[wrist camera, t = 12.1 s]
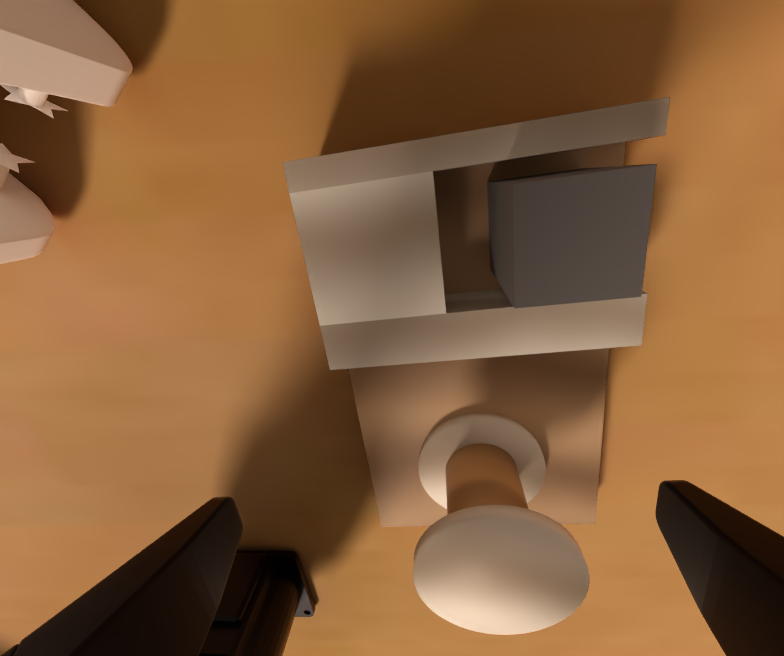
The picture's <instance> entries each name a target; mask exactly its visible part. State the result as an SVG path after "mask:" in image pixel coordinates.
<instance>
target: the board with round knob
mask: <svg viewBox="0 0 784 656" xmlns="http://www.w3.org/2000/svg"><path fill="white" fill-rule="evenodd" d="M669 102H670V97H666V98H660V99H654V100H648V101H642V102H636V103H631V104H625V105H619V106H613V107H607V108H601V109H595V110H589V111H583V112H577V113H571V114H565V115H560V116H554V117H548V118H542V119H536V120H530V121H524V122H518V123H512V124H506V125H500V126H494V127H489V128H483V129H477V130H471V131H465V132H459V133H453V134H447V135H441V136H435V137H429V138H424V139H418V140H412V141H406V142H400V143H394V144H388V145H382V146H376V147H370V148H364V149H358V150H353V151H347V152H341V153H335V154H329V155H323V156H317V157H311V158H305V159H299V160H293V161H287V162H282V163H283V167H284V172H285V176H286V181H287V185H288V189H289V194H290V198H291V202H292V207H293V211H294V215H295V220H296V224H297V229H298V233H299V237H300V242H301V246H302V250H303V255H304V259H305V263H306V268H307V272H308V277H309V281H310V285H311V290H312V294H313V298H314V303H315V307H316V311H317V316H318V320H319V325H320V329H321V333H322V338H323V342H324V346H325V351H326V355H327V359H328V364H329V368H330V370H337V369H348V370H349V375H350V379H351V384H352V389H353V394H354V399H355V403H356V408H357V413H358V418H359V422H360V427H361V432H362V437H363V442H364V446H365V451H366V456H367V461H368V466H369V470H370V475H371V480H372V485H373V490H374V494H375V499H376V504H377V509H378V514H379V518H380V523H381V527H394V526H430V527H429V528H428V529H427V530H426V531H425V532H424V534H423V535H422V536H421V538H420V539H419V541H418V543H417V546H416V549H415V554H414V567H413V577H414V584H415V587H416V590H417V592H418V594H419V596H420V597H421V599H422V600H423V602H424V603H425V604H426V605H427V606H428V607H429V608H430V609H431V610H432V611H433V612H435V613H436V614H437V615H439V616H440V617H442V618H443V619H445V620H447V621H449V622H451V623H453V624H455V625H457V626H460V627H462V628H466V629H469V630H472V631H477V632H481V633H488V634H499V635H513V634H523V633H529V632H534V631H538V630H541V629H544V628H547V627H550V626H552V625H554V624H556V623H558V622H561V621H562V620H564V619H565V618H567V617H568V616H569V615H571V614H572V613H573V612H574V611H575V610H576V609H577V608H578V607H579V606H580V605H581V603H582V602H583V600H584V598H585V597H586V594H587V591H588V588H589V571H588V567H587V564H586V562H585V559H584V557H583V554H582V552H581V549H580V547H579V545H578V543H577V541H576V540H575V539H574V537H573V536H572V535H571V534H570V532H569V531H568V530H567V529H566V528H564V527H563V526H562V525H561V524H595V521H596V508H597V495H598V483H599V470H600V458H601V445H602V433H603V420H604V408H605V395H606V383H607V370H608V358H609V348H615V347H627V346H640V345H642V337H643V329H644V320H645V311H646V302H647V293H645V292H644V291H642V296H641V297H634V298H624V299H613V300H602V301H591V302H580V303H569V304H558V305H548V306H537V307H526V308H514V307H513V305H512V304H511V302H510V300H509V299H508V297H507V296H506V294H505V292H504V291H503V289H502V288H501V286H500V284H499V283H498V281H497V279H496V278H495V276H494V275H493V273H492V271H491V269H490V244H489V218H488V193H487V182H490V181H497V180H504V179H511V178H518V177H525V176H532V175H539V174H546V173H553V172H560V171H567V170H574V169H581V168H597V167H614V166H624V157H625V145H626V142H630V141H635V140H641V139H646V138H652V137H657V136H663V135H666V128H667V119H668V110H669Z"/></svg>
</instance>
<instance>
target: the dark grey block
mask: <svg viewBox="0 0 784 656" xmlns="http://www.w3.org/2000/svg"><path fill="white" fill-rule="evenodd" d="M656 165H657V164H648V165H631V166H614V167H597V168H581V169H574V170H567V171H560V172H553V173H546V174H539V175H532V176H525V177H518V178H511V179H504V180H497V181H490V182H487V193H488V218H489V244H490V269H491V271H492V273H493V275H494V276H495V278H496V279H497V281H498V283H499V284H500V286H501V288H502V289H503V291H504V292H505V294H506V296H507V297H508V299H509V300H510V302H511V304H512V305H513V307H514V308H526V307H537V306H548V305H558V304H569V303H580V302H591V301H602V300H613V299H624V298H634V297H641V296H642V287H643V278H644V270H645V261H646V252H647V244H648V235H649V226H650V218H651V209H652V200H653V191H654V183H655V174H656Z"/></svg>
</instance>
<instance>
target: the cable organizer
mask: <svg viewBox="0 0 784 656" xmlns="http://www.w3.org/2000/svg"><path fill="white" fill-rule="evenodd" d="M132 70H133V67H132V64H131V62H130V60H129V58H128V57H127V55H126V54H125V53H124V51H123V50H122V49H121V48H120V46H119V45H118V44H117V43H116V42H115V41H114V40H113V39H112V37H111V36H110V35H109V34H108V33H107V32H106V31H105V30H104V29H103V28H102V27H101V26H100V25H99V24H97V23H96V22H95V21H94V20H93V19H92V18H91V17H90V16H89V15H88V14H87V13H86V12H85V11H84V10H83V9H82V8H81V7H80V6H79V5H78V4H77V3H76V2H74V1H73V0H0V85H1V86H2V87H3V88H5V89H6V90H8V91H9V92H10V93H11V94H10V95H8V96H7V97H6V98H5V100H9V101H13V102H18V103H22V104H26V105H30V106H32V107H34V108H36V109H38V110H39V111H41V112H43V113H45V114H46V115H48V116H50V117H52V118H54V117H53V114H52V111H51V109H54V110H63V111H68V110H66V109H63V108H61V107H59V106H57V105H55V104H53V103H50V102H48V101H46V99H47V97H48V95H49V94H51V95H56V96H60V97H65V98H70V99H74V100H79V101H83V102H88V103H93V104H97V105H102V106H113V105H114V104H116V102H117V100H118V98H119V96H120V94H121V92H122V90H123V88H124V86H125V84H126V82H127V81H128V79H129V77H130V75H131V73H132ZM9 85H10V86H9ZM12 86H14V87H12ZM15 87H19V88H18V89H17V88H15ZM17 163H34V162H33V161H31V160H28V159H25V158H22V157H19V156H16V155H13V154H11V153H10V151H9V150H8V149H7V148H6V147H5V146H4V145H3V143H1V144H0V264H3V263H8V262H13V261H18V260H23V259H27V258H32V257H35V256H38V255H39V254H41V253H42V252H43V251H44V250H45V248H46V246H47V244H48V242H49V240H50V238H51V236H52V234H53V232H54V230H55V220H54V217H53V216H52V214H51V212H50V211H49V210H48V208H47V207H46V206H45V205H44V203H43V201H42V200H41V199H40V198H39V197H38V196H37V195H36V194H34V193H33V192H32V191H31V190H30V189H28V188H27V187H26V186H25V185H23V184H22V183H21V182H20V181H19V180H17V179H16V178H15V177H14V176H12V175H11V174H10V173H9V170H10V169H12V170H14V171H16V172H18V173H19V169H18V165H17Z"/></svg>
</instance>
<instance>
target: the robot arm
mask: <svg viewBox="0 0 784 656" xmlns="http://www.w3.org/2000/svg"><path fill="white" fill-rule="evenodd" d="M656 520H657V523H658V526H659V528H660V530H661V532H662V534H663V536H664V538H665V540H666V542H667V544H668V546H669V548H670V551H671V553H672V555H673V557H674V559H675V561H676V563H677V565H678V567H679V569H680V571H681V573H682V575H683V577H684V579H685V582H686V584H687V586H688V588H689V590H690V592H691V594H692V596H693V598H694V600H695V602H696V604H697V606H698V608H699V610H700V612H701V613H702V615H703V617H704V619H705V621H706V622H707V624H708V626H709V628H710V629H711V631H712V633H713V634H714V636H715V638H716V639H717V641H718V643H719V644H720V646H721V648H722V649H723V651H724V653H725V654H726V656H784V537H783V536H781V535H780V534H778V533H776V532H775V531H773V530H771V529H769V528H768V527H766V526H764V525H762V524H761V523H759V522H757V521H756V520H754V519H752V518H750V517H749V516H747V515H745V514H743V513H742V512H740V511H738V510H737V509H735V508H733V507H731V506H730V505H728V504H726V503H724V502H723V501H721V500H719V499H717V498H716V497H714V496H712V495H711V494H709V493H707V492H705V491H704V490H702V489H700V488H698V487H697V486H695V485H693V484H692V483H690V482H688V481H684V480H671V481H663V482H661V484H660V486H659V491H658V498H657V505H656ZM242 531H243V526H242V521H241V518H240V515H239V513H238V510H237V507H236V504H235V502H234V500H233V499H232V498H231V497H216V498H212V499H211V500H209V501H208V502H207V503H205V504H204V505H203V506H201V507H200V508H199V509H197V510H196V511H195V512H193V513H192V514H191V515H189V516H188V517H186V518H185V519H184V520H182V521H181V522H180V523H178V524H177V525H176V526H174V527H173V528H172V529H170V530H169V531H168V532H166V533H165V534H164V535H162V536H161V537H160V538H158V539H157V540H156V541H154V542H153V543H152V544H150V545H149V546H148V547H146V548H145V549H144V550H142V551H141V552H140V553H138V554H137V555H136V556H134V557H133V558H132V559H130V560H129V561H127V562H126V563H125V564H123V565H122V566H121V567H119V568H118V569H117V570H115V571H114V572H113V573H111V574H110V575H109V576H107V577H106V578H105V579H103V580H102V581H101V582H99V583H98V584H97V585H95V586H94V587H93V588H91V589H90V590H89V591H87V592H86V593H85V594H83V595H82V596H81V597H79V598H78V599H76V600H75V601H74V602H72V603H71V604H70V605H68V606H67V607H66V608H64V609H63V610H62V611H60V612H59V613H58V614H56V615H55V616H54V617H52V618H51V619H50V620H48V621H47V622H46V623H44V624H43V625H42V626H40V627H39V628H38V629H36V630H35V631H34V632H32V633H31V634H30V635H28V636H27V637H25V638H24V639H23V640H22V641H21V642H20V644H17V645H15V646H13V647H12V648H11V649H9V650H8V651H7V652H5V653H4V654H3V655H1V656H282V655H283V652H284V649H285V645H286V642H287V639H288V636H289V633H290V630H291V626H292V623H293V620H294V617H311V616H313V615H314V611H315V605H314V602H313V599H312V596H311V593H310V590H309V587H308V584H307V581H306V578H305V575H304V572H303V569H302V566H301V563H300V560H299V557H298V555H297V554H296V553H295V552H293V551H237V548H238V545H239V542H240V539H241V536H242Z"/></svg>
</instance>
